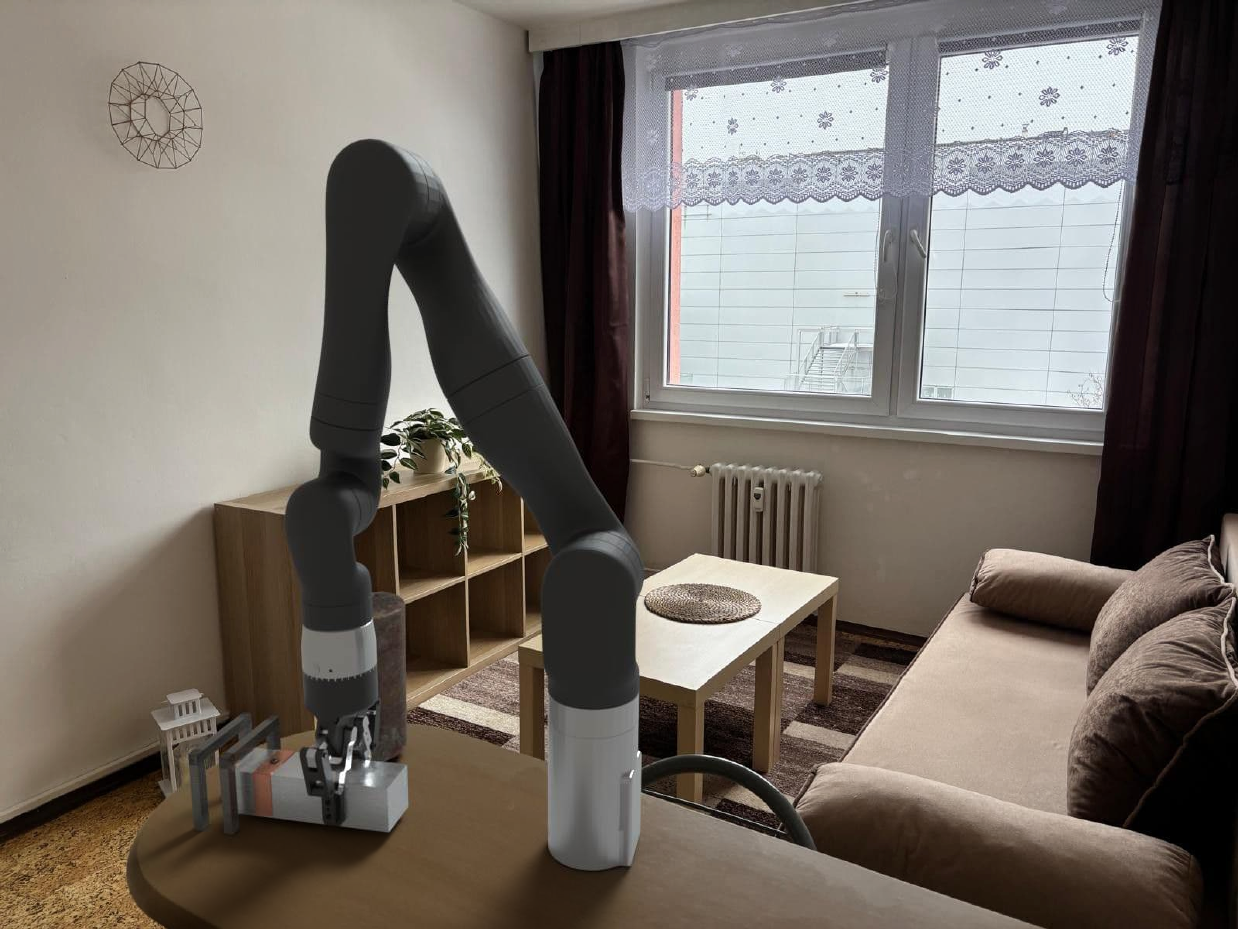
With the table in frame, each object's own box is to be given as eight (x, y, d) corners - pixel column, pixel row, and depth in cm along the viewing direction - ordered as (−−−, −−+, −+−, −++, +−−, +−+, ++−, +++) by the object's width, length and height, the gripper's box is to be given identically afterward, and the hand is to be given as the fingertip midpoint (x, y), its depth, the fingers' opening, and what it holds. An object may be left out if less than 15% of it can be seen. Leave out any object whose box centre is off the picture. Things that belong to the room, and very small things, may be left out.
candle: (417, 742, 116) (412, 592, 113) (398, 772, 109) (392, 612, 105) (359, 739, 117) (353, 589, 113) (336, 768, 110) (328, 609, 106)
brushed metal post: (408, 806, 100) (407, 762, 99) (388, 833, 95) (386, 787, 94) (259, 788, 103) (256, 745, 102) (232, 813, 98) (228, 769, 97)
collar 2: (283, 786, 106) (279, 716, 104) (232, 835, 96) (227, 758, 94) (275, 785, 106) (271, 715, 104) (224, 833, 96) (218, 757, 95)
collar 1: (255, 782, 106) (251, 713, 105) (202, 831, 97) (196, 755, 95) (247, 782, 106) (243, 712, 105) (194, 830, 97) (188, 754, 95)
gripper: (340, 693, 88) (347, 852, 91) (401, 639, 102) (406, 779, 105) (269, 686, 89) (278, 843, 92) (339, 633, 103) (345, 772, 106)
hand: (346, 808), depth 99 cm, fingers closed on brushed metal post, 5 cm apart
